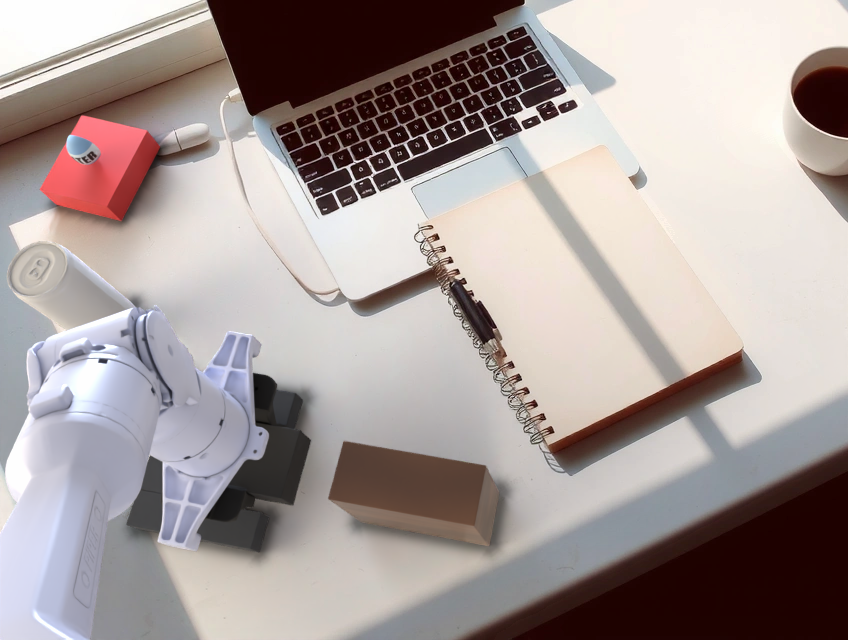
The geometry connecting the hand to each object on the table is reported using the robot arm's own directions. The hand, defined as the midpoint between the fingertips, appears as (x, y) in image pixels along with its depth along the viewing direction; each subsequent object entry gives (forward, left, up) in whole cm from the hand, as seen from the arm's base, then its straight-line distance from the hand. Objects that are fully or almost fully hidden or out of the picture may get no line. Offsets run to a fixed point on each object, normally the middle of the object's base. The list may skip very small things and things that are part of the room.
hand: (253, 463), depth 70 cm
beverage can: (+10, +16, -2) cm, 19 cm away
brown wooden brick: (0, -14, -2) cm, 14 cm away
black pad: (0, 0, 0) cm, 0 cm away
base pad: (0, +3, -2) cm, 4 cm away
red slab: (+24, +22, -3) cm, 33 cm away
